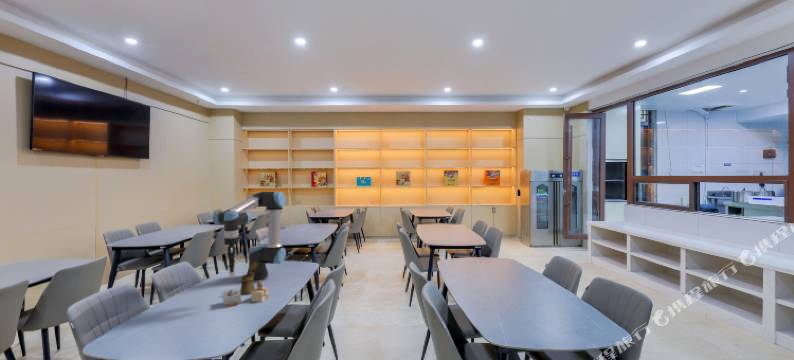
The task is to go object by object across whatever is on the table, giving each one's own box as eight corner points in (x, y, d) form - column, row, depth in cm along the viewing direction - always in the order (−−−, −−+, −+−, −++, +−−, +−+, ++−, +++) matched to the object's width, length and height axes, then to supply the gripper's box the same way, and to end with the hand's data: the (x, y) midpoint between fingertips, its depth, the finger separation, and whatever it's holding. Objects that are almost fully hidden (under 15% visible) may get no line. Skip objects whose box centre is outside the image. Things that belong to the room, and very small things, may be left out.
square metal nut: (223, 299, 184) (223, 292, 184) (240, 296, 189) (240, 289, 189) (223, 304, 176) (223, 297, 176) (240, 301, 181) (240, 294, 181)
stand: (257, 296, 193) (257, 279, 193) (268, 297, 192) (268, 279, 192) (251, 301, 186) (251, 283, 186) (262, 301, 185) (262, 283, 185)
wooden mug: (262, 287, 208) (261, 261, 208) (249, 295, 195) (248, 267, 195) (250, 287, 210) (250, 261, 210) (236, 294, 197) (236, 266, 196)
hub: (230, 300, 186) (230, 287, 186) (241, 301, 186) (241, 288, 186) (222, 305, 179) (222, 292, 179) (233, 306, 179) (233, 292, 178)
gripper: (224, 235, 189) (224, 271, 189) (224, 240, 171) (224, 281, 172) (238, 233, 192) (238, 270, 193) (239, 239, 175) (239, 279, 175)
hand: (231, 275), depth 182 cm, fingers open, 7 cm apart
